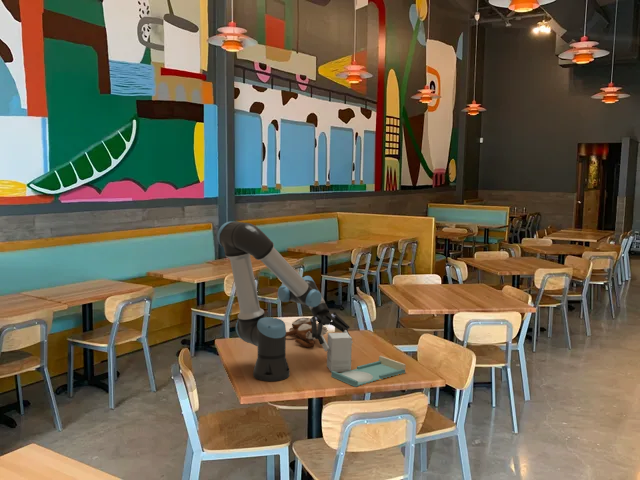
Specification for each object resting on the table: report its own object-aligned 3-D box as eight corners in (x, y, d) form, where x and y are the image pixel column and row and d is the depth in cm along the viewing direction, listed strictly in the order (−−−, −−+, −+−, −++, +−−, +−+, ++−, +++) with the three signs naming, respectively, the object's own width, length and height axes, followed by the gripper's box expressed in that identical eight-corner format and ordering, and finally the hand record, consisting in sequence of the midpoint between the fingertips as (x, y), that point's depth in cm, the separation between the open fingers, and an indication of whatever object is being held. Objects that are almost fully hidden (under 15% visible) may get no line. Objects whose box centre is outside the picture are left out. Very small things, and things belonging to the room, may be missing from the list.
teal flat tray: (355, 387, 226) (355, 377, 225) (331, 376, 237) (331, 367, 237) (405, 372, 243) (405, 364, 243) (380, 363, 255) (381, 355, 254)
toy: (297, 335, 271) (271, 322, 297) (300, 355, 273) (274, 341, 299) (336, 322, 281) (307, 311, 307) (339, 342, 283) (310, 329, 309)
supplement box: (346, 365, 253) (347, 332, 251) (351, 371, 244) (352, 337, 242) (326, 365, 251) (327, 332, 249) (330, 372, 242) (331, 338, 241)
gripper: (335, 307, 269) (355, 346, 260) (292, 315, 254) (313, 356, 244) (342, 298, 265) (364, 337, 255) (299, 305, 249) (321, 347, 239)
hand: (339, 347), depth 249 cm, fingers open, 13 cm apart
